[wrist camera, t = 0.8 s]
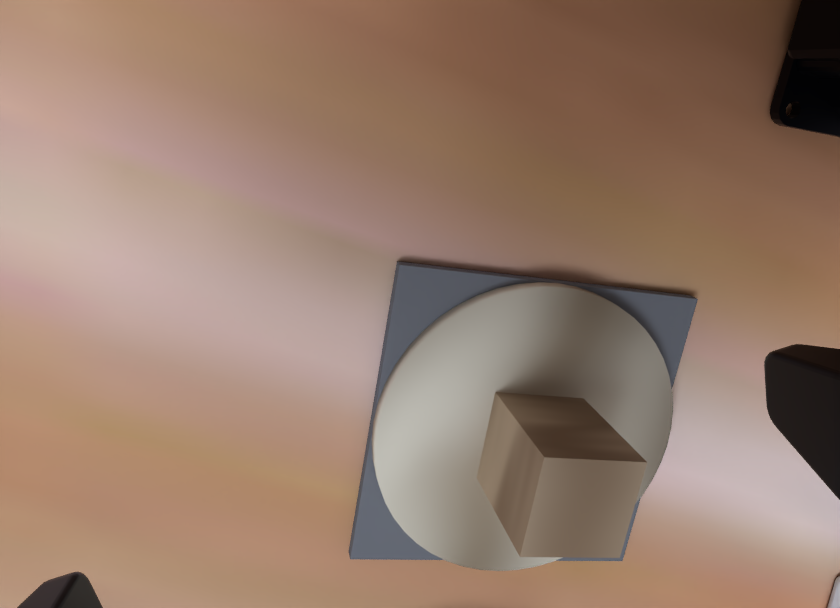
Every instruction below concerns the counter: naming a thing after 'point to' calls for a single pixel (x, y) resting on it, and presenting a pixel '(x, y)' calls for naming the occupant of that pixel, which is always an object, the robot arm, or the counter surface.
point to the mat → (431, 298)
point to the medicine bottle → (835, 595)
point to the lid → (523, 428)
